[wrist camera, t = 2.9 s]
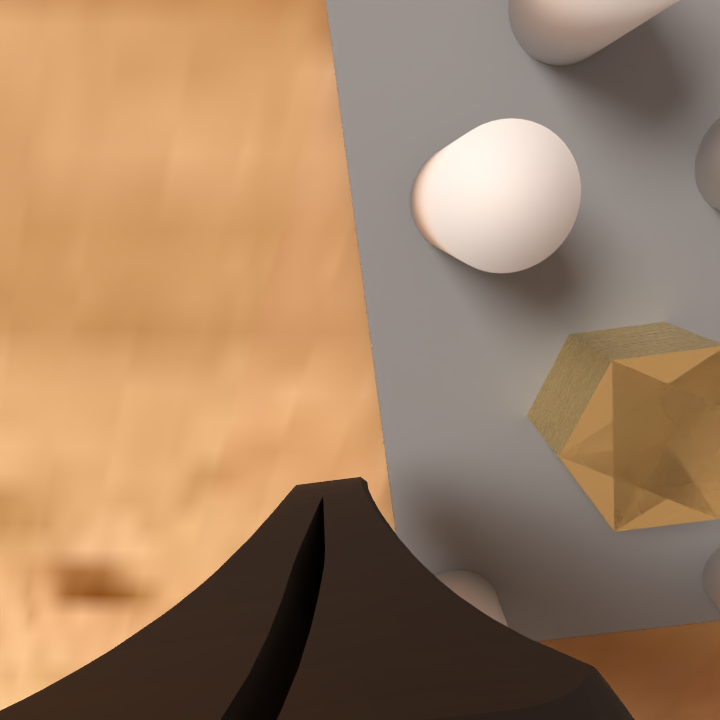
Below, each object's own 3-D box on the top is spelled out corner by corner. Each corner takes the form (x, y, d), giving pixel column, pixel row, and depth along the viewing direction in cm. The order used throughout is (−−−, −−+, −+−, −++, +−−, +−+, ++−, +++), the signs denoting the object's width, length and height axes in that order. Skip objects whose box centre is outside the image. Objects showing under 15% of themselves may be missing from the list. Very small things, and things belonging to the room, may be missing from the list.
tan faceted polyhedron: (711, 315, 14) (784, 338, 11) (706, 464, 15) (771, 512, 12) (521, 340, 14) (555, 367, 12) (530, 485, 15) (562, 537, 13)
